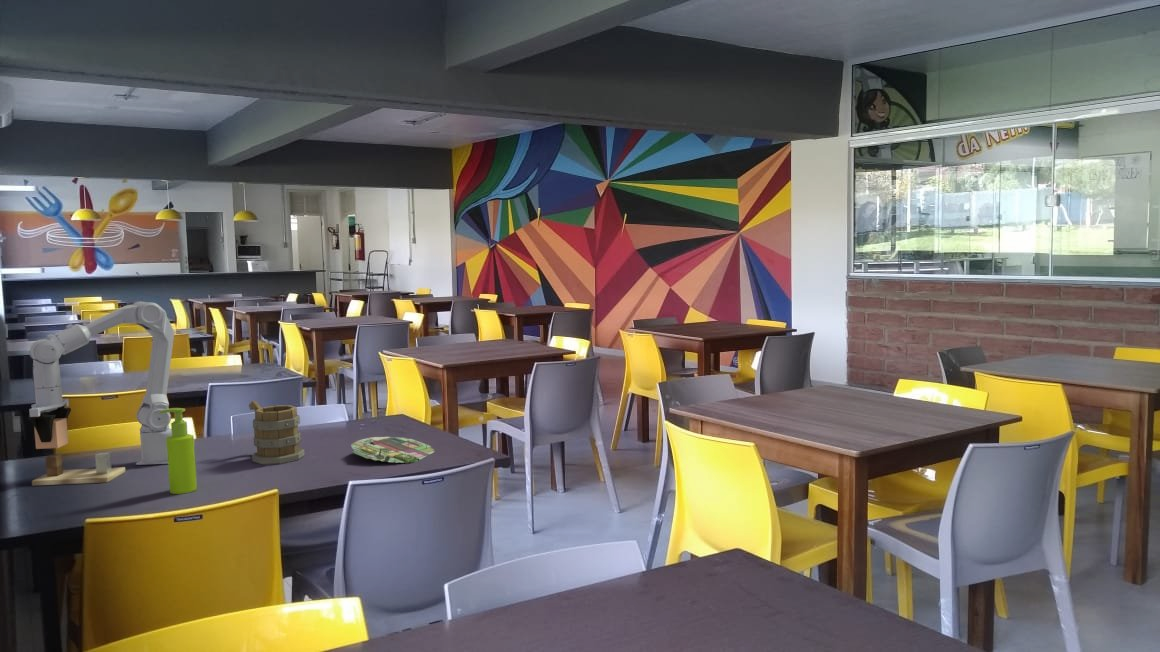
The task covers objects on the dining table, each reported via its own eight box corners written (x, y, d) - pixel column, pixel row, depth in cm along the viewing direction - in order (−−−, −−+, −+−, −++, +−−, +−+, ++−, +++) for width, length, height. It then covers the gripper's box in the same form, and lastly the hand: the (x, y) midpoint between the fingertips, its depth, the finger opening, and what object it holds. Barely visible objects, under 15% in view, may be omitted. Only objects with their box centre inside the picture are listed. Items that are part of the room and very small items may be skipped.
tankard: (311, 457, 230) (308, 404, 229) (267, 466, 221) (264, 411, 219) (276, 446, 244) (273, 396, 242) (234, 455, 234) (230, 403, 233)
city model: (414, 476, 216) (416, 454, 215) (332, 463, 220) (333, 441, 220) (448, 454, 240) (450, 434, 240) (373, 443, 245) (375, 422, 244)
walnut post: (63, 473, 214) (61, 454, 214) (57, 476, 212) (56, 456, 211) (52, 473, 214) (50, 454, 214) (47, 476, 211) (45, 457, 211)
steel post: (111, 471, 215) (110, 452, 215) (107, 473, 213) (105, 454, 212) (101, 471, 215) (99, 452, 215) (96, 474, 213) (94, 455, 212)
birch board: (125, 471, 219) (125, 467, 219) (107, 482, 209) (107, 477, 209) (53, 474, 218) (53, 470, 218) (32, 485, 208) (31, 480, 208)
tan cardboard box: (68, 443, 215) (66, 418, 214) (57, 447, 210) (55, 422, 209) (47, 444, 215) (45, 418, 214) (36, 448, 209) (33, 423, 209)
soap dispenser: (171, 487, 203) (165, 406, 201) (200, 486, 204) (195, 405, 202) (161, 494, 197) (155, 411, 195) (191, 493, 198) (185, 410, 196)
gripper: (47, 382, 218) (51, 433, 219) (14, 392, 203) (19, 446, 205) (75, 381, 218) (79, 432, 220) (45, 391, 204) (49, 445, 205)
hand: (52, 439), depth 212 cm, fingers closed on tan cardboard box, 5 cm apart
